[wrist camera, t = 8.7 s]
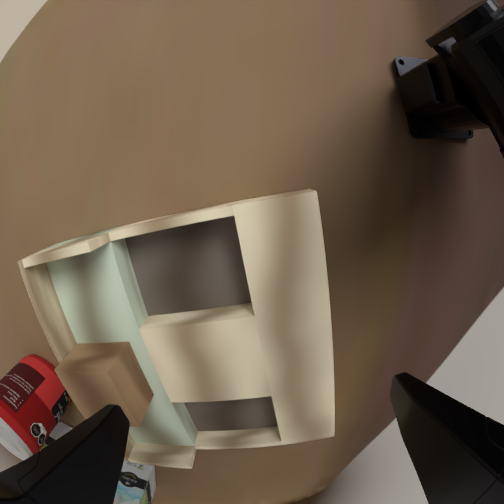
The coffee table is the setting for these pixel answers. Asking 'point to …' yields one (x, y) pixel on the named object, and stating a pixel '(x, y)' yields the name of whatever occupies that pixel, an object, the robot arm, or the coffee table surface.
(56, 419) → the canned food
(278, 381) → the board
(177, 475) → the coffee table surface
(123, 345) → the walnut block
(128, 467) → the tea box
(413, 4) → the coffee table surface
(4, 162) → the coffee table surface
